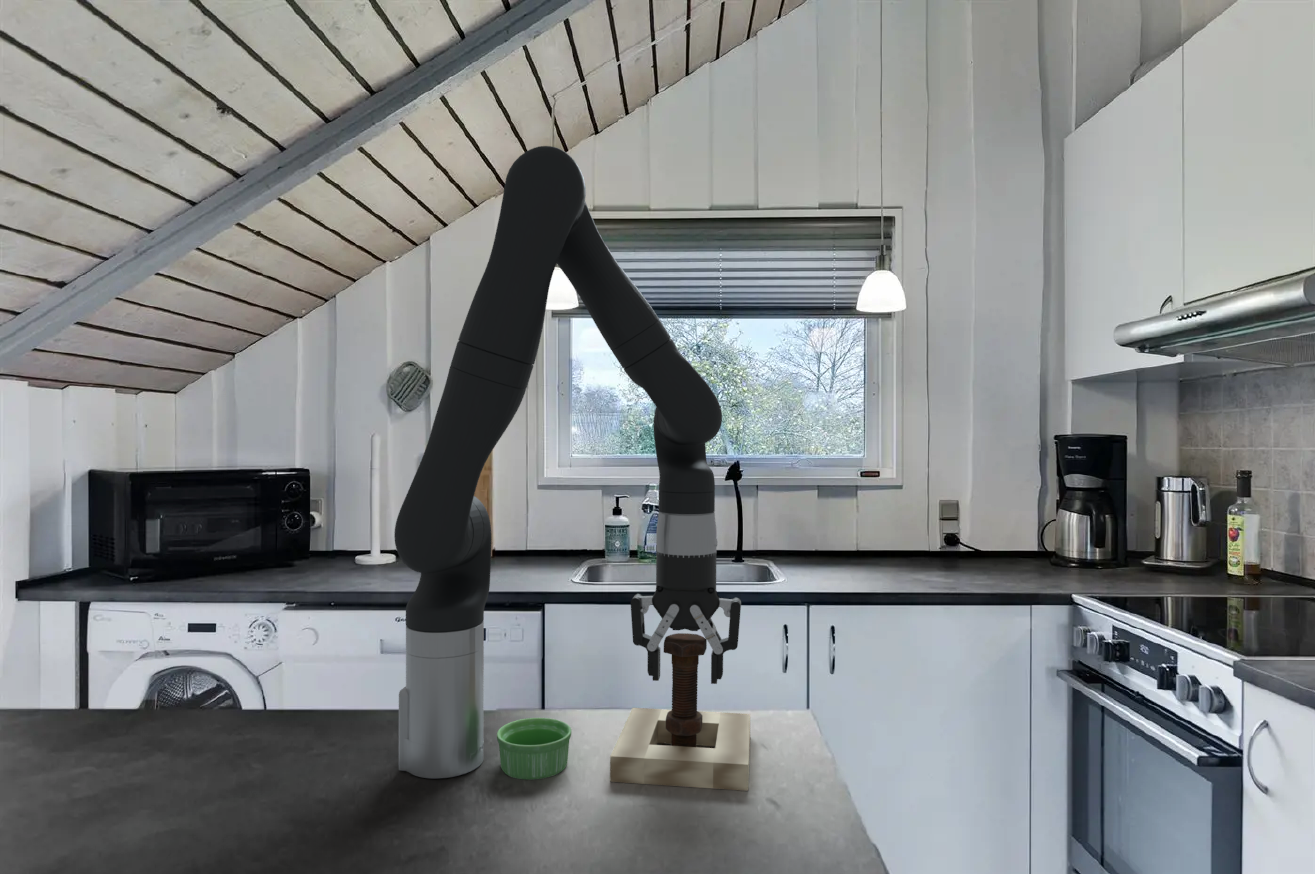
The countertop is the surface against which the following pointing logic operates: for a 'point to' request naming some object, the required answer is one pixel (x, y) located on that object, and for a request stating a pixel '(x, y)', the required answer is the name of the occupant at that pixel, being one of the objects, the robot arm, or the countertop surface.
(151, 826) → the countertop surface
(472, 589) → the robot arm
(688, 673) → the bolt
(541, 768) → the ramekin
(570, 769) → the countertop surface
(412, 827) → the countertop surface
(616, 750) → the frame
